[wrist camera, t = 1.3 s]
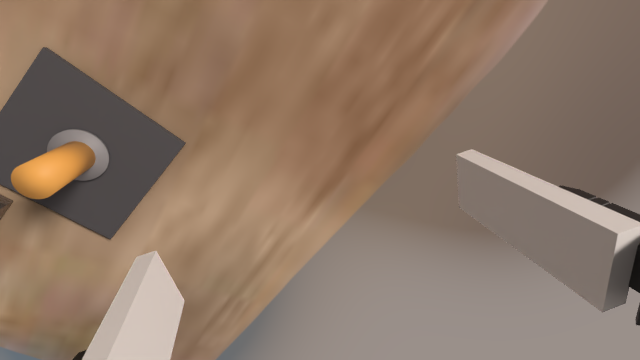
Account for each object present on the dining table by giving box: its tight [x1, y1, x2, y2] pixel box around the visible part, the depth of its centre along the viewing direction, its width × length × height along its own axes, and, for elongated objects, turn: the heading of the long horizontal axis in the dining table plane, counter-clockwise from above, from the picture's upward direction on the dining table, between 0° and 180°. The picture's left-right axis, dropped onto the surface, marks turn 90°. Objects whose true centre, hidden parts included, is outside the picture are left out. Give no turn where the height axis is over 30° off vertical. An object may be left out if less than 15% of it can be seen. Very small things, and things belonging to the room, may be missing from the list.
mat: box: [0, 47, 185, 239], centre depth 32 cm, size 14×14×1 cm
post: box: [11, 129, 110, 199], centre depth 28 cm, size 5×5×8 cm
